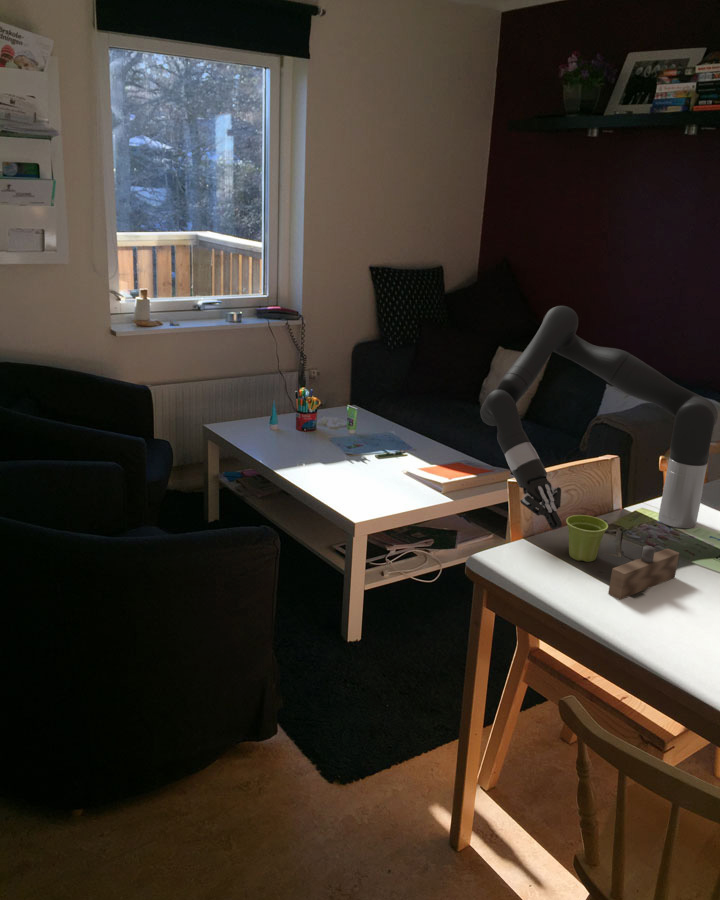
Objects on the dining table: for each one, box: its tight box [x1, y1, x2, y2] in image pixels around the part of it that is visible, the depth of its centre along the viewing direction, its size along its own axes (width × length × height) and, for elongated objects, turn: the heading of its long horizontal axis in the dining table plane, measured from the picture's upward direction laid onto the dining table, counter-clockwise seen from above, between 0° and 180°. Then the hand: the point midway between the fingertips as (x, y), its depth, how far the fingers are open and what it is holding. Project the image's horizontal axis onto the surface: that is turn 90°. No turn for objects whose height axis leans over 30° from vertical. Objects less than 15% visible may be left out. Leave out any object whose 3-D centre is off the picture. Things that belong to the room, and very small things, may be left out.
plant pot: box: [565, 514, 609, 563], centre depth 187 cm, size 9×9×9 cm
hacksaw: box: [599, 519, 635, 561], centre depth 197 cm, size 24×10×2 cm, turn 160°
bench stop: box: [607, 545, 680, 600], centre depth 174 cm, size 20×3×9 cm, turn 126°
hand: (557, 527), depth 193 cm, fingers closed
